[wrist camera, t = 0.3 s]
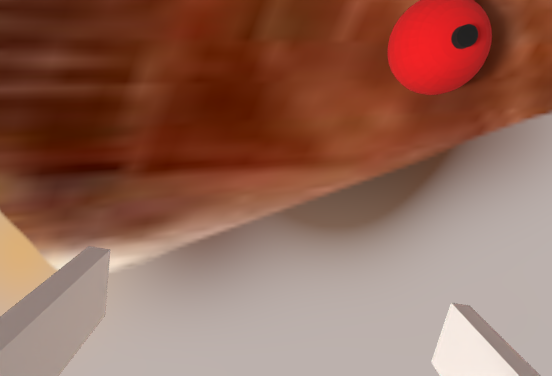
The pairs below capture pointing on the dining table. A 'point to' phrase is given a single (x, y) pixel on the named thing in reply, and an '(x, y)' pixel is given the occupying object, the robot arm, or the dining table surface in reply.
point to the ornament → (439, 45)
